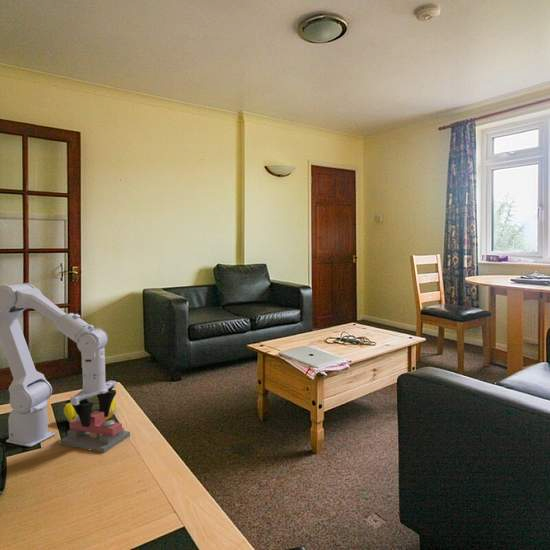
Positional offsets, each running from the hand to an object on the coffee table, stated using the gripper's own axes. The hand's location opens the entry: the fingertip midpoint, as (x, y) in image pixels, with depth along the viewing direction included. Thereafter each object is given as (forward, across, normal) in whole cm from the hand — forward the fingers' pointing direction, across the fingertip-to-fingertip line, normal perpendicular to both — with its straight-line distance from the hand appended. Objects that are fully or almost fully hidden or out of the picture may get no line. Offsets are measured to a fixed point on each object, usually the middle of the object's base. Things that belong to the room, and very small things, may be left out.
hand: (95, 421), depth 107 cm
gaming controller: (+6, +11, +12) cm, 17 cm away
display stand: (+5, 0, 0) cm, 5 cm away
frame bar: (+2, 0, 0) cm, 2 cm away
